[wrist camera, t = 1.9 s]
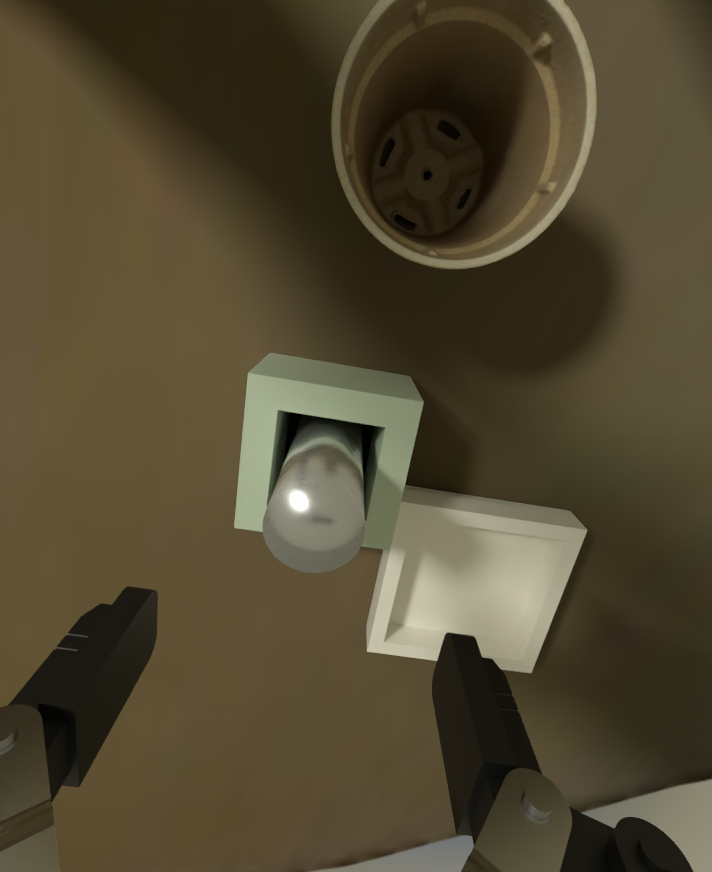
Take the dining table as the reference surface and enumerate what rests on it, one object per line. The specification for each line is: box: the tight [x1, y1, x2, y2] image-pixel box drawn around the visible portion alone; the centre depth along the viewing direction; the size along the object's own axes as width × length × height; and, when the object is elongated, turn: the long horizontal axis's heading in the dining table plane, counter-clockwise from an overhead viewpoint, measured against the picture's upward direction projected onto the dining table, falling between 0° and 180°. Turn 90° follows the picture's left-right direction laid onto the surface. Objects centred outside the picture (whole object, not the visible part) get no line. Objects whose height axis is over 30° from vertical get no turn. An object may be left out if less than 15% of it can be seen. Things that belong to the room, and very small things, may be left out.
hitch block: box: [234, 353, 424, 550], centre depth 26 cm, size 9×9×6 cm
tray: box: [366, 485, 587, 673], centre depth 31 cm, size 12×12×2 cm
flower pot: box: [331, 0, 597, 269], centre depth 20 cm, size 9×9×9 cm
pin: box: [262, 414, 365, 573], centre depth 23 cm, size 4×4×12 cm
